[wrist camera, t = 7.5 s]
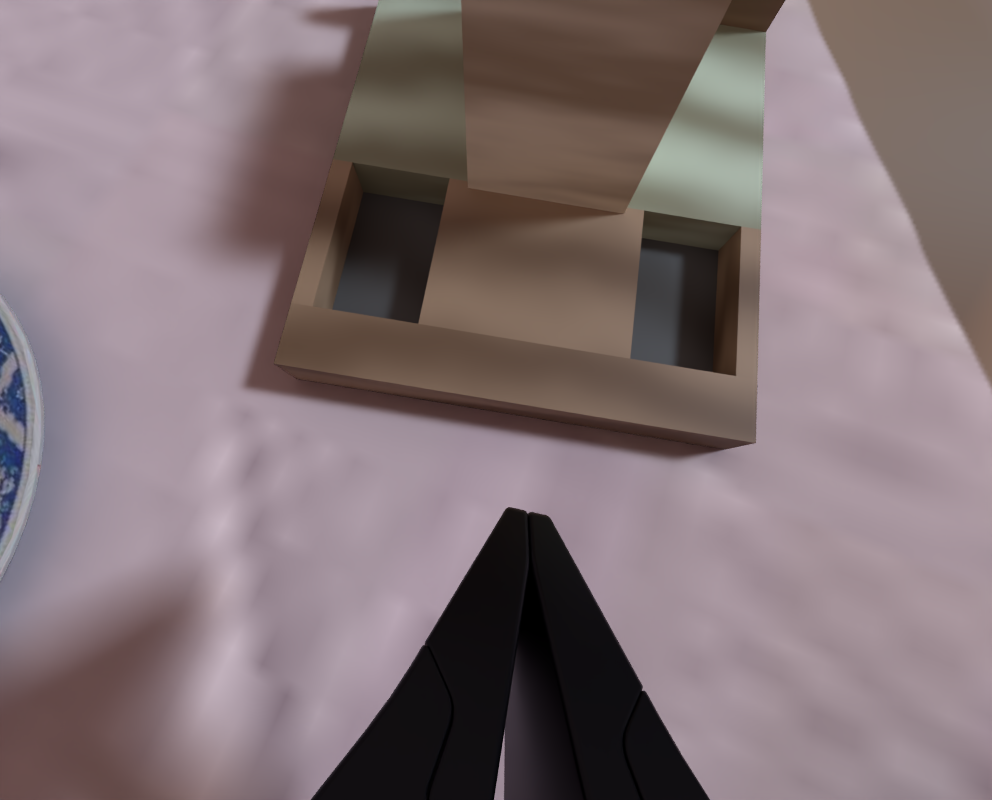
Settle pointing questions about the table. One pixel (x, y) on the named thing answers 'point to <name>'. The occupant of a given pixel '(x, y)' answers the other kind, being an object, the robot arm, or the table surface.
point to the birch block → (576, 92)
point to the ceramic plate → (17, 431)
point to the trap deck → (539, 253)
